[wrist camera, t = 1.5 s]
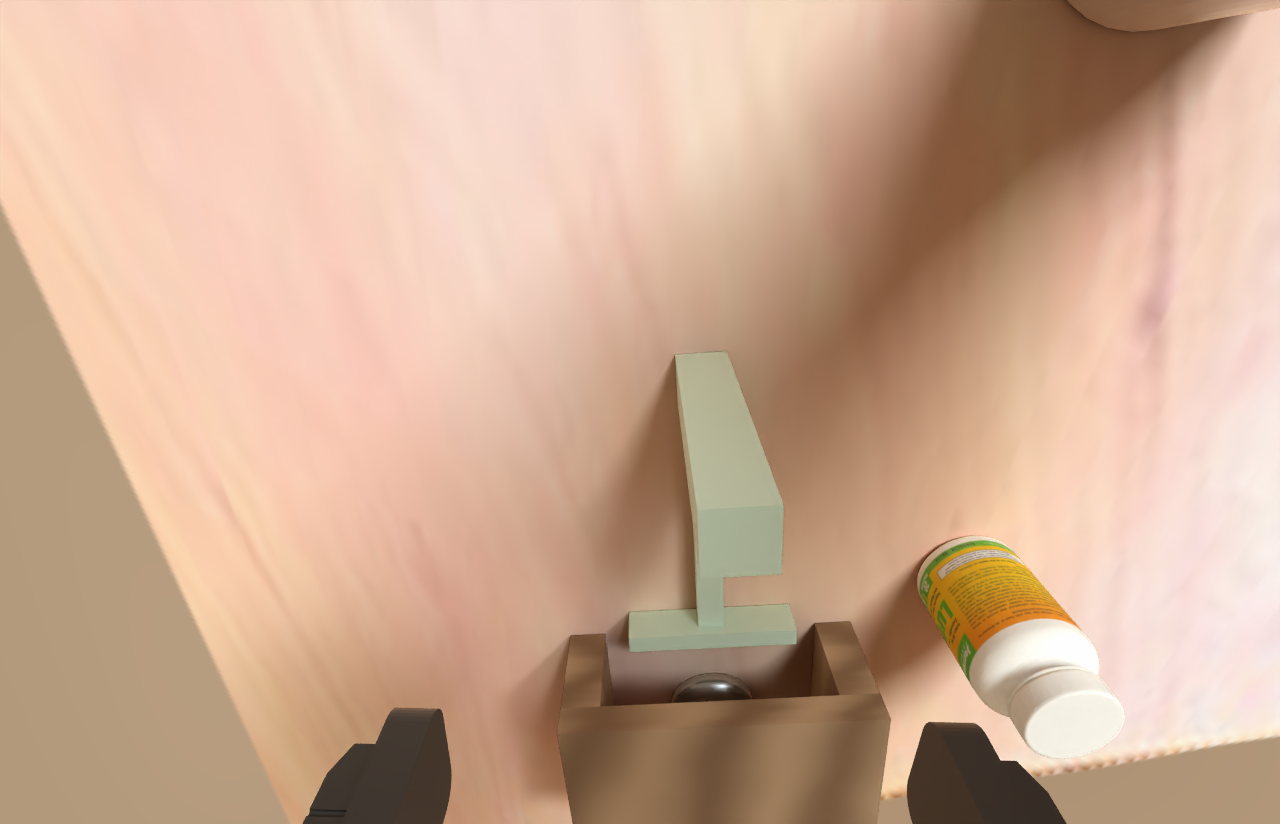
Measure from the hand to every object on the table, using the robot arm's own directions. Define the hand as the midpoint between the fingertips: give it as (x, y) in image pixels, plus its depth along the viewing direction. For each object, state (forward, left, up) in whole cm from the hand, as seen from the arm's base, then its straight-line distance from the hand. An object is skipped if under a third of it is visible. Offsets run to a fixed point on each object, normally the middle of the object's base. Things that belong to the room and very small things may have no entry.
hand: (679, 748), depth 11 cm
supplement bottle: (-16, +14, -21) cm, 30 cm away
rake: (-2, +8, -21) cm, 22 cm away
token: (-2, +23, -21) cm, 31 cm away
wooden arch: (-2, +22, -21) cm, 30 cm away
